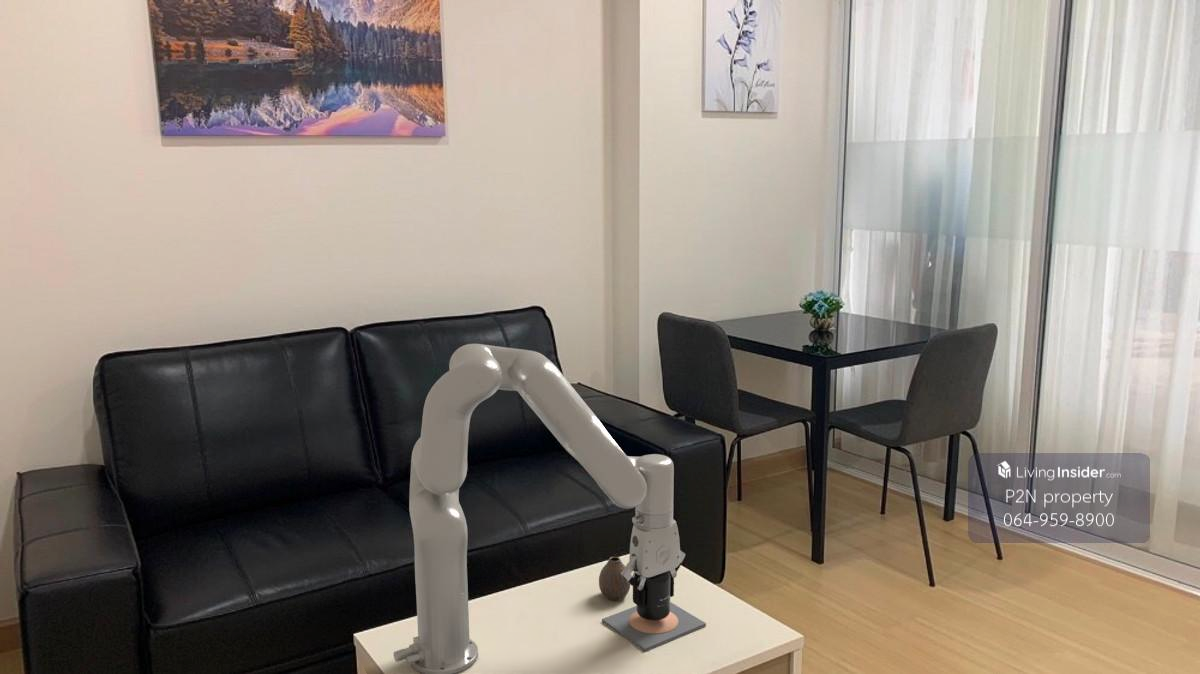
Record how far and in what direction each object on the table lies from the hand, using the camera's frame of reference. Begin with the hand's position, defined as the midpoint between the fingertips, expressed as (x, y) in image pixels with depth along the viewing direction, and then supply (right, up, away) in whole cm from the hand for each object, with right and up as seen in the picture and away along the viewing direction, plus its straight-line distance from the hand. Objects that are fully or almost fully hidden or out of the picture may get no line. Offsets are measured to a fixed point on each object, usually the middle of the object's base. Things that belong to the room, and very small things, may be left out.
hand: (653, 598), depth 174 cm
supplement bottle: (0, -3, +1) cm, 3 cm away
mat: (0, -5, +1) cm, 6 cm away
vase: (-8, -4, +13) cm, 15 cm away
